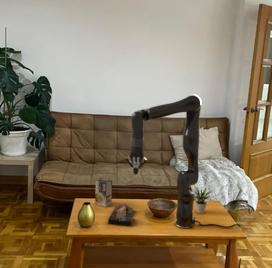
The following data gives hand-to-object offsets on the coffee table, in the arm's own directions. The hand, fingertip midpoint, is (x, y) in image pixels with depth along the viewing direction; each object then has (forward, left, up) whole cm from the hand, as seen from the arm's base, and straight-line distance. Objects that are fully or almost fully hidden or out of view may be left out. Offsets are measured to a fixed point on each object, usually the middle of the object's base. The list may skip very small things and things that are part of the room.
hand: (135, 174), depth 212 cm
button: (+7, -5, -23) cm, 25 cm away
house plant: (-41, -18, -27) cm, 52 cm away
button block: (+7, -5, -27) cm, 28 cm away
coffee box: (+22, -16, -27) cm, 38 cm away
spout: (+6, +8, -24) cm, 26 cm away
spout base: (+6, +8, -27) cm, 29 cm away
